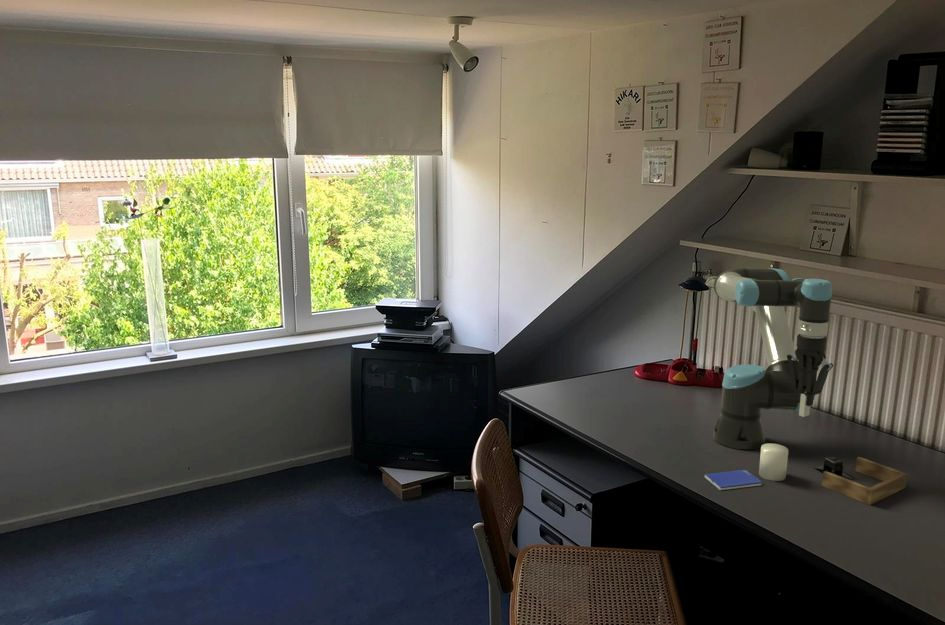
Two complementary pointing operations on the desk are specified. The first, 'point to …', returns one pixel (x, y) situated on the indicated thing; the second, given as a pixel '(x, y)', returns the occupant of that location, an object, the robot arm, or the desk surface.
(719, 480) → the hard drive
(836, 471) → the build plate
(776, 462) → the cream cylinder
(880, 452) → the desk surface
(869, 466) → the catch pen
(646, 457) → the desk surface
